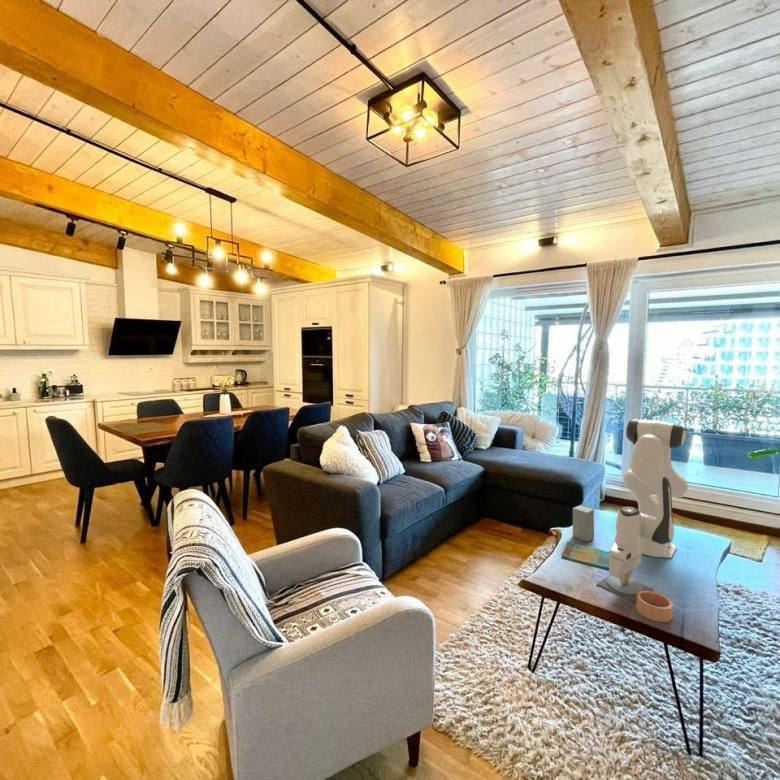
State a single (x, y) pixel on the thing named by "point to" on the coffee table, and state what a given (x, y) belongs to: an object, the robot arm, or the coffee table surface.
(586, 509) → the skincare box
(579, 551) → the dish towel
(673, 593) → the coffee table surface
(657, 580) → the coffee table surface
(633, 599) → the mat
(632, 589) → the lid
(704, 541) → the coffee table surface
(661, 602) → the bowl
